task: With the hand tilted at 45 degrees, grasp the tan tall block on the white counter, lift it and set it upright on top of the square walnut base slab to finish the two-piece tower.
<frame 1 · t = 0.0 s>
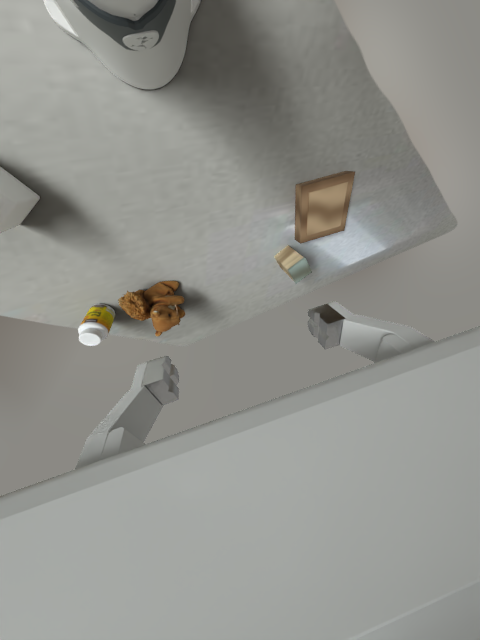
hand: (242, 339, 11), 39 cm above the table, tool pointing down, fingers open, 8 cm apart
stuffed squirrel: (156, 295, 50), on the table
base slab: (318, 208, 46), on the table
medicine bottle: (3, 192, 31), on the table
supplement bottle: (103, 311, 49), on the table
tan tall block: (284, 257, 52), on the table
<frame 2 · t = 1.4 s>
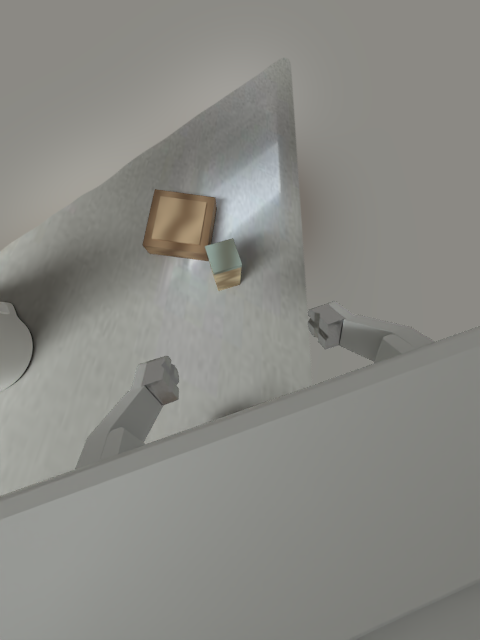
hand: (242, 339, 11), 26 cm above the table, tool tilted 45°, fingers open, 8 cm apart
base slab: (183, 230, 39), on the table
tan tall block: (225, 277, 38), on the table
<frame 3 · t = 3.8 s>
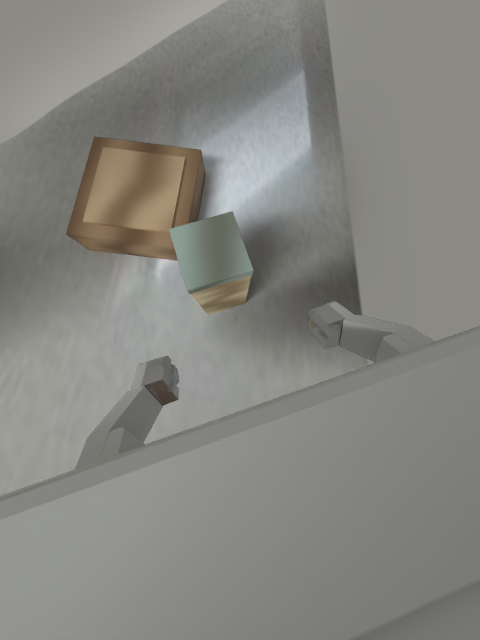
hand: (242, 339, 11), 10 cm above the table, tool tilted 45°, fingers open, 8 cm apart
base slab: (149, 210, 23), on the table
tan tall block: (220, 290, 22), on the table
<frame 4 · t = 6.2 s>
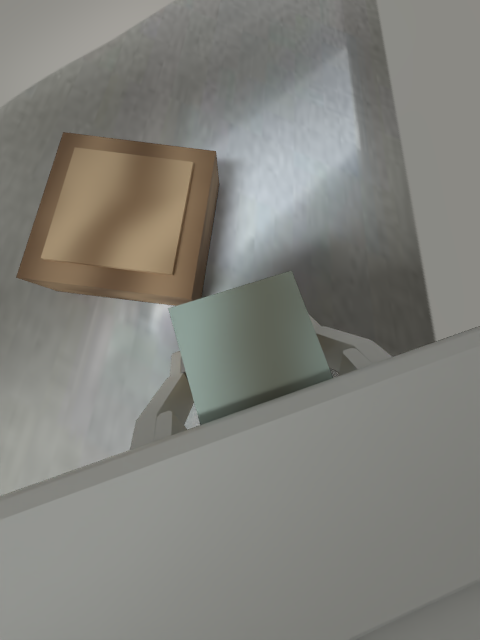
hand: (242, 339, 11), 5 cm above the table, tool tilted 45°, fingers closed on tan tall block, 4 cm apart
base slab: (142, 234, 17), on the table
tan tall block: (242, 350, 15), on the table, touching gripper
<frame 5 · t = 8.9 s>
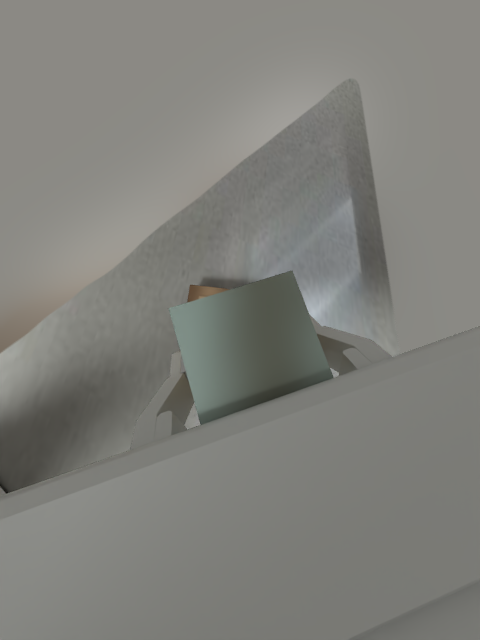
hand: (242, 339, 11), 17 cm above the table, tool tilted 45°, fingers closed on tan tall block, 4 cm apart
base slab: (229, 335, 28), on the table
tan tall block: (242, 350, 15), point 12 cm above the table, touching gripper
when the fingers open (9 cm above the table, at t = 11.6 s): tan tall block stays where it is, resting on base slab.
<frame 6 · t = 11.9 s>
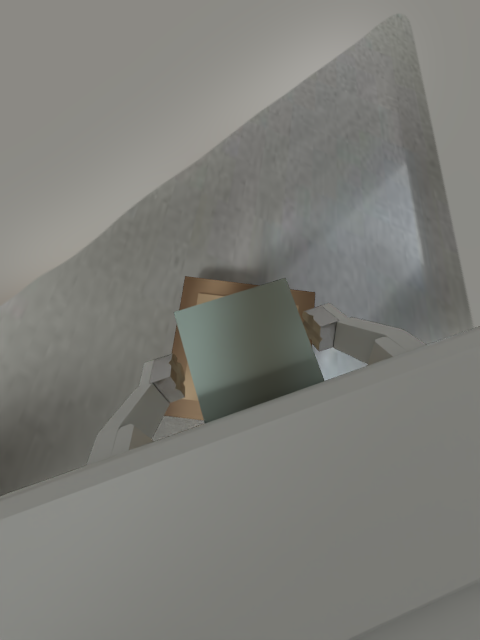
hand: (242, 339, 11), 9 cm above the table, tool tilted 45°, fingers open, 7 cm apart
base slab: (241, 350, 19), on the table
tan tall block: (241, 350, 16), point 3 cm above the table, touching base slab
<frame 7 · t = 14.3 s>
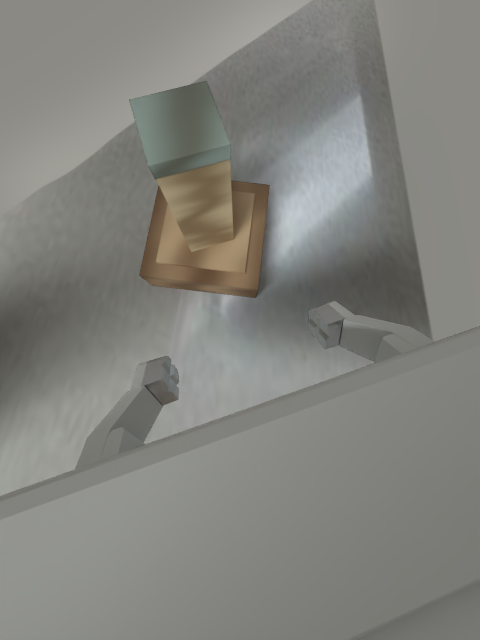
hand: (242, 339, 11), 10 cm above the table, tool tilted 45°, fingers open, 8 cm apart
base slab: (211, 244, 23), on the table
tan tall block: (206, 226, 20), point 3 cm above the table, touching base slab
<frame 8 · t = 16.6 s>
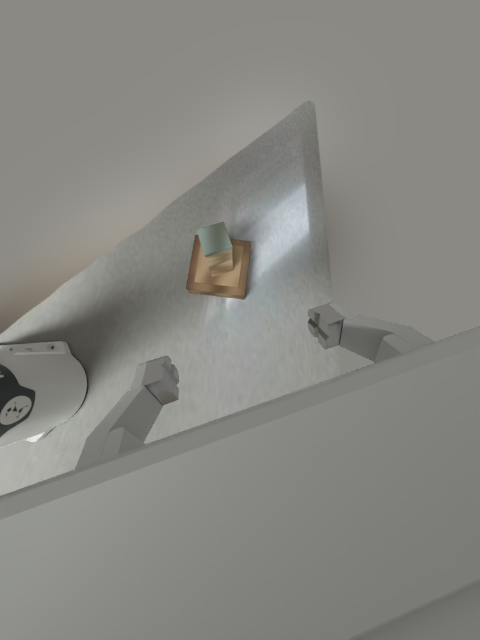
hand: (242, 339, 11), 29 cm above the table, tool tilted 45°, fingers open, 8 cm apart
base slab: (220, 270, 42), on the table
tan tall block: (219, 263, 39), point 3 cm above the table, touching base slab
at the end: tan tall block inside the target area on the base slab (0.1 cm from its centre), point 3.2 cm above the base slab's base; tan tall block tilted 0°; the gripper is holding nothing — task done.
